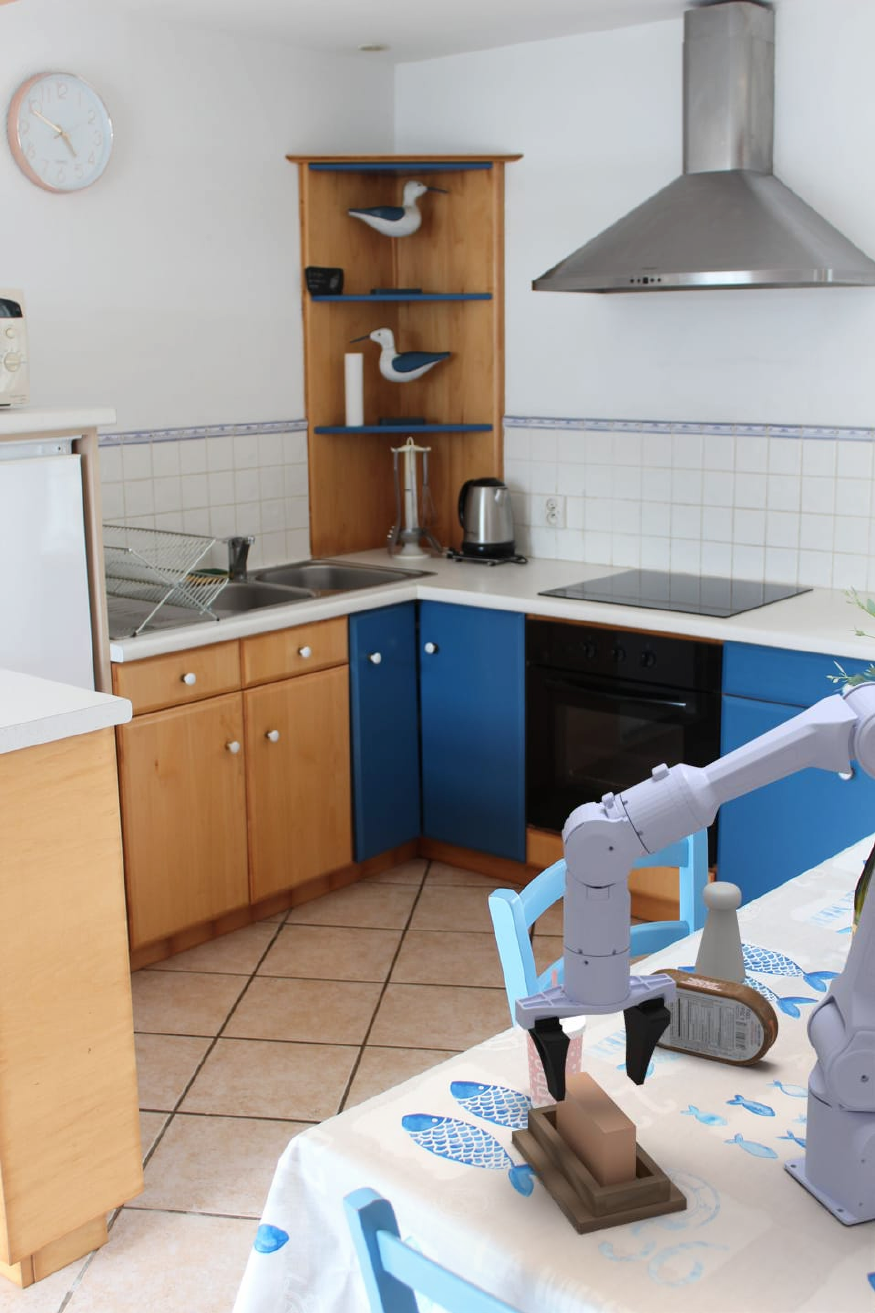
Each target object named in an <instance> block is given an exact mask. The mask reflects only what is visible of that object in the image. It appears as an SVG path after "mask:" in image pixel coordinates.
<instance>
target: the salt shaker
mask: <svg viewBox="0 0 875 1313" xmlns="http://www.w3.org/2000/svg"><path fill="white" fill-rule="evenodd" d="M702 902H703V904H704V906H705V907H707V908H708V910H707V914H706V918H705V922H704V925H703V930H702V934H701V939H700V942H699V948H698V951H697V955H696V956H697V957H696V960H695V964H694V968H693V973H695V974H699V975H704V976H708V977H713V978H717V979H722V980H726V981H731V982H736V983H740V984H744V982H745V980H746V977H747V972H746V966H745V958H744V954H743V953H744V952H743V946H742V941H741V940H742V939H741V934H740V933H741V932H740V926H739V921H738V920H739V919H738V913H737V909H738V908H740V906H741V904H742V891H741V889H740V888H739V886H737V885H736V884H735V883H732V882H728V881H712V882H709V883H708V884H706V885H705V886H704V888H703V890H702Z"/></svg>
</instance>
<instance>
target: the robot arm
mask: <svg viewBox="0 0 875 1313" xmlns="http://www.w3.org/2000/svg"><path fill="white" fill-rule="evenodd" d="M850 761H857V764H858V766H859V767H860V768H861V770H863V772H865V773H866V774H867V775H868V776H869V777H870V778H872V779H873V780H874V781H875V681H865V682H861V683H859V684H857V685H854V686H852V687H851V688H849V689H848V690H846V691H845V692H844V693H843V694H842V695H841V694H840V693H837V694H834V695H830V696H828V697H824V698H823V699H821V700H820V701H818V702H817V703H815V704H813V705H812V706H810V707H809V708H807V709H806V710H804V711H803V712H801V713H799V714H798V715H796V716H795V717H794V716H793V718H790V719H788V720H786V721H785V722H783V723H782V724H780V725H778V726H776V727H774V728H772V729H770V730H768V731H767V732H765V733H763V734H761V735H760V736H758V737H756V738H755V739H753V740H751V741H749V742H747V743H745V744H744V745H742V746H739V748H737V749H735V750H732V751H731V752H730V753H728V754H726V755H723V757H721V758H719V759H717V760H715V761H713V762H712V763H710V764H708V765H705V767H696V766H692V765H688V764H685V763H678V764H676V765H674V766H672V767H670V768H668V766H667V764H666V763H661V764H659V765H657V766H656V767H654V768H652V769H651V774H652V776H651V777H650V778H647V779H645V780H644V781H642V782H640V783H637V784H636V785H633V786H632V787H630V788H628V789H626V790H624V791H621V792H620V793H617V794H615V795H614V793H613V792H611V791H610V792H608V793H606V794H604V795H602V797H601V802H599V803H596V801H593V802H586V803H585V804H581V805H580V806H578V807H577V808H575V809H574V810H573V811H572V812H571V813H570V814H569V817H568V818H567V819H566V820H565V823H564V827H563V829H562V830H561V838H562V842H563V858H564V862H565V865H566V869H565V871H564V884H565V889H564V891H563V983H560V984H557V986H555V987H549V988H548V989H545V990H542V991H539V992H538V993H535V994H532V995H530V996H529V995H528V996H526V997H522V998H516V999H515V1000H514V1017H515V1018H514V1019H515V1022H516V1023H517V1024H518V1025H519V1026H520V1027H521V1028H522V1029H523V1031H525V1030H526V1029H527V1030H528V1032H529V1034H530V1036H531V1038H532V1040H533V1042H534V1044H535V1046H536V1049H537V1051H538V1054H539V1056H540V1059H541V1062H542V1065H543V1069H544V1072H545V1077H546V1081H547V1087H548V1092H549V1093H550V1094H551V1095H552V1097H553V1098H554V1099H555V1100H556V1101H557V1102H560V1101H564V1100H565V1093H566V1079H565V1067H566V1059H567V1052H568V1047H569V1044H570V1040H571V1039H570V1038H569V1037H568V1036H567V1035H566V1034H565V1033H564V1032H563V1026H562V1025H561V1024H560V1023H559V1019H565V1018H570V1017H576V1016H581V1015H584V1016H598V1015H599V1016H603V1015H604V1016H605V1015H606V1016H607V1015H611V1014H612V1015H613V1014H616V1013H619V1012H623V1013H622V1014H623V1018H624V1019H623V1021H624V1029H625V1070H626V1071H625V1072H626V1076H627V1077H628V1078H629V1079H630V1080H631V1081H632V1083H634V1084H635V1085H636V1086H637V1087H638V1086H644V1084H645V1080H646V1077H647V1072H648V1068H649V1066H650V1064H651V1059H652V1057H653V1055H654V1052H655V1049H656V1047H657V1045H658V1044H657V1043H658V1041H659V1039H660V1038H661V1036H662V1034H663V1033H664V1031H665V1030H666V1028H667V1027H668V1026H669V1025H670V1021H671V1012H670V1011H669V1010H668V1009H667V1008H666V1007H665V1006H664V1003H666V1004H668V1003H673V1002H676V982H675V981H674V980H673V979H672V978H671V977H669V976H668V975H667V974H666V973H665V974H658V975H650V974H647V975H646V974H642V975H637V974H636V975H635V974H632V975H631V902H632V897H631V895H632V894H631V893H630V890H629V888H628V887H629V885H628V884H629V883H628V881H629V877H628V876H629V875H630V873H631V871H632V869H633V867H634V865H635V863H636V861H637V860H638V859H643V858H646V857H649V856H651V855H653V854H656V853H657V852H659V851H661V850H663V849H665V848H667V847H669V846H671V845H674V844H675V843H678V842H680V841H682V840H684V839H686V838H688V837H690V836H692V835H694V834H696V833H698V832H700V831H702V830H705V829H707V828H708V827H710V826H712V825H713V823H714V822H715V819H716V815H717V813H718V810H719V808H720V807H721V805H723V804H724V803H727V802H730V801H732V800H734V799H737V798H739V797H742V796H743V795H745V794H748V793H750V792H752V791H755V790H757V789H760V788H762V787H764V786H766V785H769V784H772V783H774V782H776V781H779V780H781V779H783V778H786V777H788V776H789V775H792V774H795V773H797V772H799V771H802V770H804V769H807V768H811V767H812V768H816V769H822V770H825V771H829V772H835V773H839V774H844V775H852V769H851V768H852V767H851V762H850ZM859 915H860V916H859V918H858V922H857V925H856V928H855V932H854V933H853V934H854V935H853V938H852V942H851V944H850V948H849V951H848V954H847V958H846V961H845V964H844V967H843V971H842V972H841V973H840V974H838V975H836V976H835V977H834V978H832V980H831V981H830V983H829V988H828V990H827V993H826V995H825V997H824V998H823V999H822V1000H820V1002H819V1003H818V1004H817V1005H816V1006H815V1007H814V1008H813V1010H811V1013H810V1014H809V1017H808V1020H807V1023H806V1024H807V1025H806V1033H807V1037H808V1039H809V1040H808V1041H809V1042H810V1044H811V1046H812V1048H813V1049H814V1051H815V1053H816V1057H817V1060H816V1062H815V1064H814V1065H813V1066H814V1067H813V1068H812V1070H811V1071H810V1073H809V1076H808V1077H807V1078H808V1079H807V1080H808V1081H807V1082H808V1085H807V1100H806V1101H807V1104H806V1127H805V1150H804V1151H805V1154H804V1155H805V1156H801V1157H797V1158H792V1159H789V1160H785V1161H784V1163H783V1164H784V1166H783V1167H784V1168H785V1169H786V1171H787V1172H789V1173H790V1174H791V1175H792V1176H793V1177H794V1178H795V1179H796V1180H797V1181H798V1182H799V1183H801V1184H802V1185H803V1187H805V1188H806V1189H807V1191H809V1192H810V1193H811V1194H812V1195H813V1196H814V1197H815V1198H816V1199H817V1200H819V1201H820V1203H822V1205H824V1207H826V1208H827V1209H828V1210H829V1211H830V1212H831V1213H832V1214H833V1215H834V1216H835V1217H836V1218H837V1219H838V1220H840V1221H841V1223H843V1224H845V1225H849V1226H850V1225H854V1224H858V1223H859V1224H860V1223H862V1222H866V1221H870V1220H874V1219H875V867H874V869H873V872H872V875H871V879H870V882H869V885H868V888H867V891H866V896H865V898H864V901H863V905H862V908H861V912H860V914H859Z"/></svg>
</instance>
